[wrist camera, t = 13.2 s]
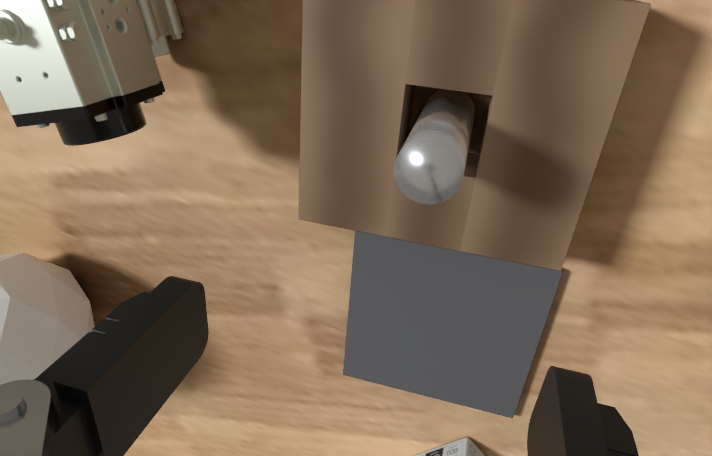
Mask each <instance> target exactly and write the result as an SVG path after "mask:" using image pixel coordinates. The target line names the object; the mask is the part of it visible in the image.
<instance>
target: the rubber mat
mask: <svg viewBox="0 0 712 456" xmlns="http://www.w3.org/2000/svg"><path fill="white" fill-rule="evenodd" d="M562 273H563V270H562V269H561V271H558V270H553V269H548V268H543V267H538V266H533V265H528V264H522V263H517V262H512V261H507V260H502V259H497V258H492V257H487V256H482V255H477V254H472V253H467V252H462V251H456V250H451V249H446V248H441V247H436V246H431V245H426V244H421V243H416V242H411V241H406V240H401V239H396V238H390V237H385V236H380V235H375V234H370V233H365V232H360V231H355V241H354V253H353V264H352V276H351V288H350V300H349V311H348V323H347V335H346V346H345V358H344V370H343V375H346V376H350V377H354V378H358V379H362V380H366V381H369V382H373V383H377V384H381V385H385V386H389V387H393V388H397V389H401V390H405V391H408V392H412V393H416V394H420V395H424V396H428V397H432V398H436V399H440V400H443V401H447V402H451V403H455V404H459V405H463V406H467V407H471V408H475V409H479V410H482V411H486V412H490V413H494V414H498V415H502V416H506V417H510V418H513V416H514V414H515V411H516V408H517V405H518V402H519V399H520V396H521V393H522V390H523V387H524V384H525V381H526V378H527V375H528V373H529V370H530V367H531V364H532V361H533V358H534V355H535V352H536V349H537V346H538V343H539V340H540V337H541V334H542V332H543V329H544V326H545V323H546V320H547V317H548V314H549V311H550V308H551V305H552V302H553V299H554V296H555V293H556V290H557V288H558V285H559V282H560V279H561V276H562Z"/></svg>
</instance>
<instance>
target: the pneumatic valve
mask: <svg viewBox="0 0 712 456" xmlns="http://www.w3.org/2000/svg"><path fill="white" fill-rule="evenodd" d="M183 32H184V31H183V28H182V24H181V21H180V18H179V14H178V11H177V7H176V4H175V0H0V91H1V94H2V96H3V98H4V100H5V102H6V104H7V106H8V109H9V111H10V113H11V115H12V117H13V119H14V122H15V124H16V126H17V127H21V126H30V125H37V127H38V128H43V127H47V126H49V123H55V125H56V127H57V129H58V132H59V134H60V136H61V139H62V141H63V143H64V144H65V145H84V144H90V143H96V142H100V141H105V140H109V139H113V138H116V137H120V136H123V135H126V134H129V133H132V132H135V131H137V130H139V129H141V128H143V127H144V126H145V125H146V120H145V117H144V115H143V112H142V109H141V106H140V102H143V101H144V103H151V102H154V97H157V96H159V95H162V94H163V93H162V92H164V91H165V89H164V86H163V82H162V79H161V76H160V73H159V70H158V67H157V64H156V61H155V57H158V56H162V55H167V54H170V53H171V49H170V46H169V43H168V40H167V36H168V35H171V36H172V39H173V40H176V39H181V38H182V37H181V34H182V33H183Z"/></svg>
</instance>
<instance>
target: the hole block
mask: <svg viewBox="0 0 712 456" xmlns="http://www.w3.org/2000/svg"><path fill="white" fill-rule="evenodd" d="M650 6H651V4H649V3H645V2H640V1H636V0H303V14H302V66H301V117H300V168H299V220H304V221H309V222H314V223H319V224H324V225H330V226H335V227H340V228H345V229H350V230H355V231H360V232H365V233H370V234H375V235H380V236H385V237H390V238H396V239H401V240H406V241H411V242H416V243H421V244H426V245H431V246H436V247H441V248H446V249H451V250H456V251H462V252H467V253H472V254H477V255H482V256H487V257H492V258H497V259H502V260H507V261H512V262H517V263H522V264H528V265H533V266H538V267H543V268H548V269H553V270H558V271H561V269H562V266H563V263H564V260H565V257H566V254H567V251H568V248H569V245H570V242H571V239H572V236H573V233H574V231H575V228H576V225H577V222H578V219H579V216H580V213H581V210H582V207H583V204H584V201H585V198H586V195H587V192H588V189H589V186H590V183H591V180H592V177H593V174H594V171H595V168H596V166H597V163H598V160H599V157H600V154H601V151H602V148H603V145H604V142H605V139H606V136H607V133H608V130H609V127H610V124H611V121H612V118H613V115H614V112H615V109H616V106H617V104H618V101H619V98H620V95H621V92H622V89H623V86H624V83H625V80H626V77H627V74H628V71H629V68H630V65H631V62H632V59H633V56H634V53H635V50H636V47H637V44H638V41H639V39H640V36H641V33H642V30H643V27H644V24H645V21H646V18H647V15H648V12H649V9H650ZM415 85H417V86H425V87H432V88H440V89H447V90H455V91H462V92H469V93H477V94H484V95H491V98H490V103H489V108H488V112H487V117H486V122H485V127H484V131H483V136H482V141H481V146H480V150H479V154H474V153H468V154H467V159H466V165H465V170H464V176H463V180H462V183H461V186H460V188H459V189H458V191H457V192H456V193H455V194H454V195H453V196H452V197H451V198H449V199H448V200H446V201H444V202H441V203H438V204H421V203H418V202H415V201H413V200H411V199H409V198H408V197H406V196H405V195H404V194H403V193H402V192H401V191H400V189H399V188H398V186H397V184H396V181H395V178H394V163H395V160H396V158H397V156H398V154H399V152H400V150H401V148H402V147H403V145H404V143H405V141H406V139H407V138H408V133H409V126H410V118H411V111H412V103H413V95H414V88H415Z"/></svg>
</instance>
